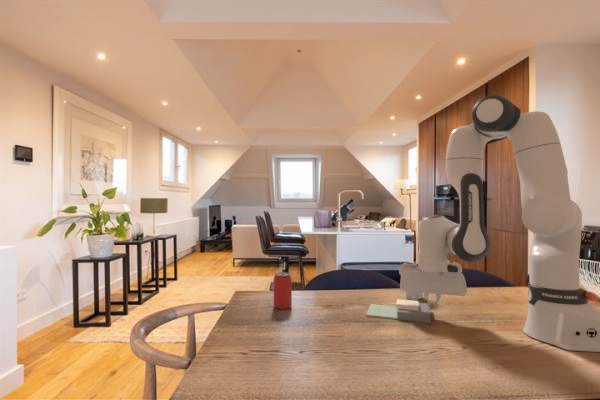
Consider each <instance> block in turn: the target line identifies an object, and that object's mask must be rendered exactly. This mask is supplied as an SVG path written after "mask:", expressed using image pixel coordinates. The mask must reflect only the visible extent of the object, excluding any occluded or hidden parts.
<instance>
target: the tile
mask: <svg viewBox="0 0 600 400" xmlns="http://www.w3.org/2000/svg"><path fill="white" fill-rule="evenodd" d="M419 303H420V302H419V300H411V299H399V298H397V299H396V303H395V306H396V309H405V310H415V311H419Z"/></svg>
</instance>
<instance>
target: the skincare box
mask: <svg viewBox="0 0 600 400" xmlns="http://www.w3.org/2000/svg"><path fill="white" fill-rule="evenodd" d="M417 268H418V267H417ZM405 293H406V294H405V299H406V300H413V301H419V300H420V299H423V297H424V293H419V292H407V291H405Z"/></svg>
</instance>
